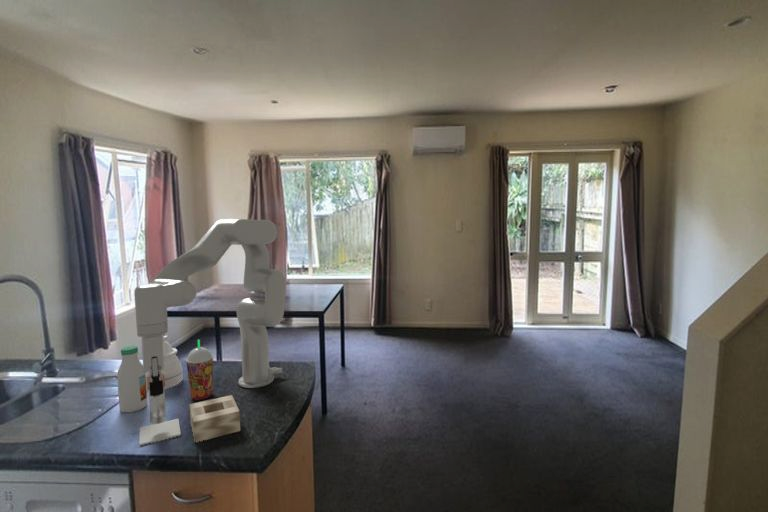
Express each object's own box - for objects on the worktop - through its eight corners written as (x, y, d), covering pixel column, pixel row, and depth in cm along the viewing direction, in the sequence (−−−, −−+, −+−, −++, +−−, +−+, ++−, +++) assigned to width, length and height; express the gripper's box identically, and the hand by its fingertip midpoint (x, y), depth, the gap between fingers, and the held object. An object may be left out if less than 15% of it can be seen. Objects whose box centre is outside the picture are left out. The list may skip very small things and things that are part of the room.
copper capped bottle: (149, 419, 116) (146, 375, 115) (166, 415, 118) (164, 372, 117) (149, 426, 112) (146, 380, 111) (167, 421, 114) (164, 377, 113)
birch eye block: (232, 413, 127) (231, 394, 126) (240, 430, 116) (239, 410, 116) (190, 423, 121) (189, 404, 120) (194, 442, 110) (193, 422, 110)
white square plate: (178, 420, 123) (178, 418, 123) (180, 435, 114) (180, 433, 114) (140, 429, 118) (140, 427, 118) (139, 446, 109) (139, 444, 109)
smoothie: (182, 399, 136) (179, 342, 134) (201, 389, 144) (198, 335, 142) (202, 403, 133) (198, 344, 131) (220, 393, 141) (217, 337, 139)
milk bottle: (134, 414, 127) (129, 352, 125) (113, 412, 128) (108, 351, 126) (153, 403, 134) (148, 344, 132) (133, 401, 136) (128, 343, 134)
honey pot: (190, 380, 153) (187, 333, 151) (156, 393, 142) (152, 343, 140) (170, 373, 159) (167, 329, 157) (136, 385, 148) (132, 338, 146)
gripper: (137, 323, 118) (141, 383, 120) (136, 338, 103) (140, 406, 105) (166, 319, 122) (170, 378, 124) (169, 333, 107) (173, 399, 109)
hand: (156, 390), depth 114 cm, fingers closed on copper capped bottle, 4 cm apart
